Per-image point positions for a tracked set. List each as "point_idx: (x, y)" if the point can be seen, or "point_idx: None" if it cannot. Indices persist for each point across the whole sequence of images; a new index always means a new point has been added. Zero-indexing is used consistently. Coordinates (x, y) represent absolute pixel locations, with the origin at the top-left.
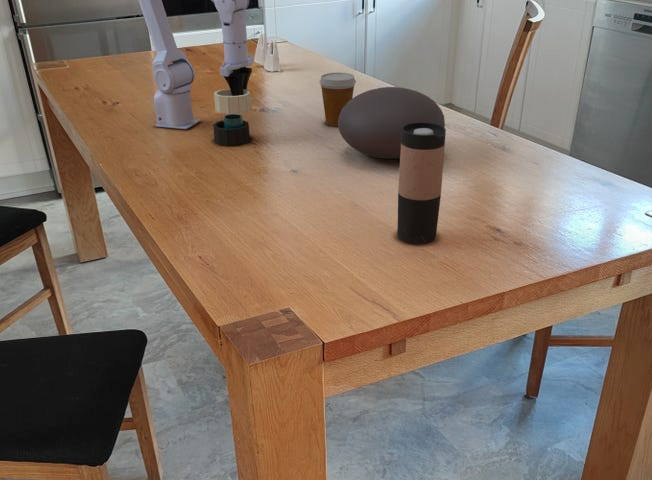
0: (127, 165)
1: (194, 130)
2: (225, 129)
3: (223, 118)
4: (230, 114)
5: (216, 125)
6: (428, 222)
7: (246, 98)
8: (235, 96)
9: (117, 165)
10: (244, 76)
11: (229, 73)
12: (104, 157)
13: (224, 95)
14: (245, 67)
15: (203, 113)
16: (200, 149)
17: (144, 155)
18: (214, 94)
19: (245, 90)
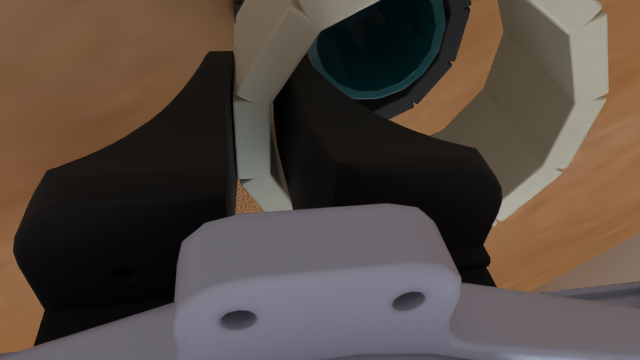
0: (627, 205)
1: (243, 211)
2: (463, 21)
3: (403, 85)
4: (327, 77)
5: (385, 104)
6: None
7: None
8: (597, 40)
9: (620, 224)
10: (377, 150)
11: (588, 295)
12: (546, 275)
13: None
14: (61, 315)
15: (10, 283)
16: (485, 80)
17: (541, 211)
18: (495, 223)
19: (291, 57)
